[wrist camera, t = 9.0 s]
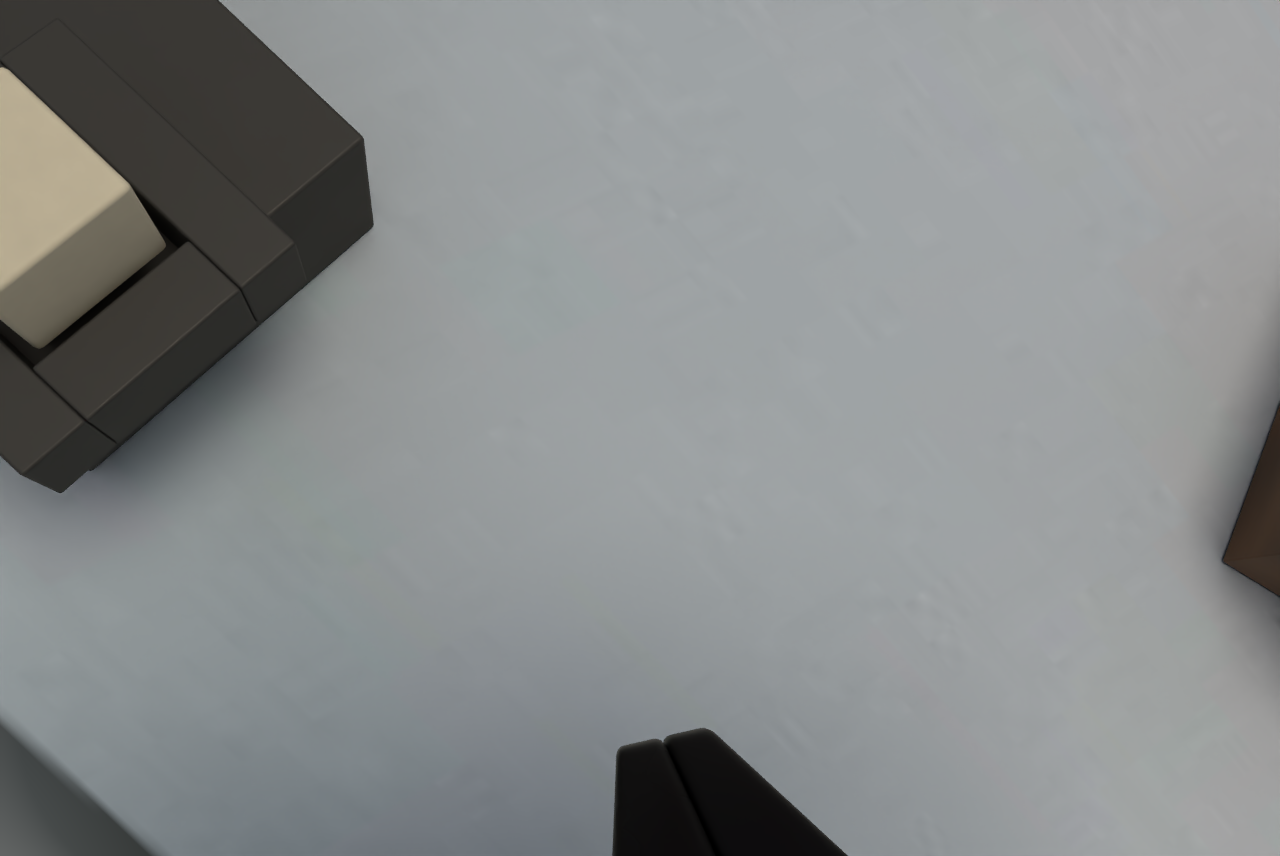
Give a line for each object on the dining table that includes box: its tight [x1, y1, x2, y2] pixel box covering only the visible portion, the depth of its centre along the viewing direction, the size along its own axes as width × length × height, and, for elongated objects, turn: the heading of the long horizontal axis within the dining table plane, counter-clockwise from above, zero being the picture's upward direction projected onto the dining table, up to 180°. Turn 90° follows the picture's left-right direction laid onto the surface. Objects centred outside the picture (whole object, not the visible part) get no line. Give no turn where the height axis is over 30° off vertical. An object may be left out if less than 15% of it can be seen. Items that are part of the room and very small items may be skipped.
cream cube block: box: [0, 67, 166, 349], centre depth 16 cm, size 3×3×2 cm
